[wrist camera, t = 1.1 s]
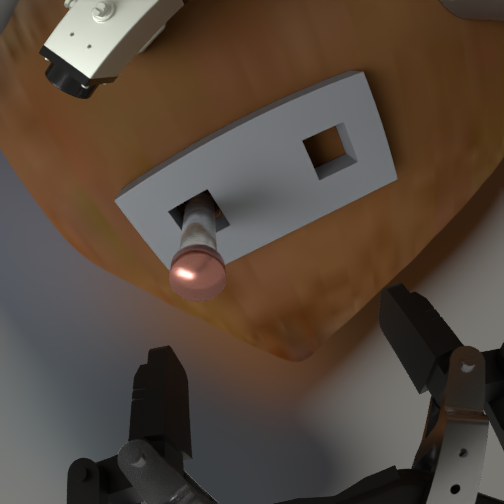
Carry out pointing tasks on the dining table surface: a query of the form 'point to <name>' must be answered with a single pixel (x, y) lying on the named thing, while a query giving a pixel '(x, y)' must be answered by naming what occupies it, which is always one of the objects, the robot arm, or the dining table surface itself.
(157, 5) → the pneumatic valve
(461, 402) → the robot arm
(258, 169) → the mount board
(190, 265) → the lock pin
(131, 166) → the dining table surface
